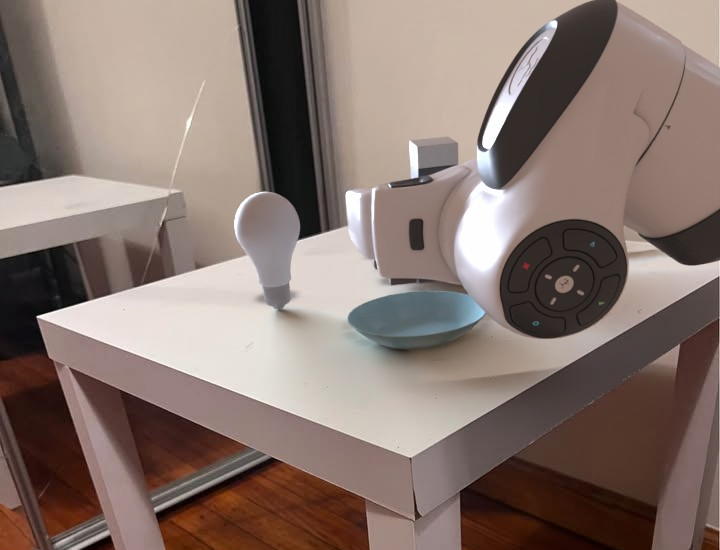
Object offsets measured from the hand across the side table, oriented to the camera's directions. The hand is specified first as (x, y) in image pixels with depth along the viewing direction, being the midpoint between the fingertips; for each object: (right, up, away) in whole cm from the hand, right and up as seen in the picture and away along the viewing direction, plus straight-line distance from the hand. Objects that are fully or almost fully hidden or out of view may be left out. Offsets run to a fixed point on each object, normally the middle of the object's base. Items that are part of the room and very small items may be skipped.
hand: (455, 189), depth 67 cm
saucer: (-3, -13, -1) cm, 14 cm away
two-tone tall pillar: (0, -2, +14) cm, 14 cm away
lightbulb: (-16, -9, +9) cm, 21 cm away
